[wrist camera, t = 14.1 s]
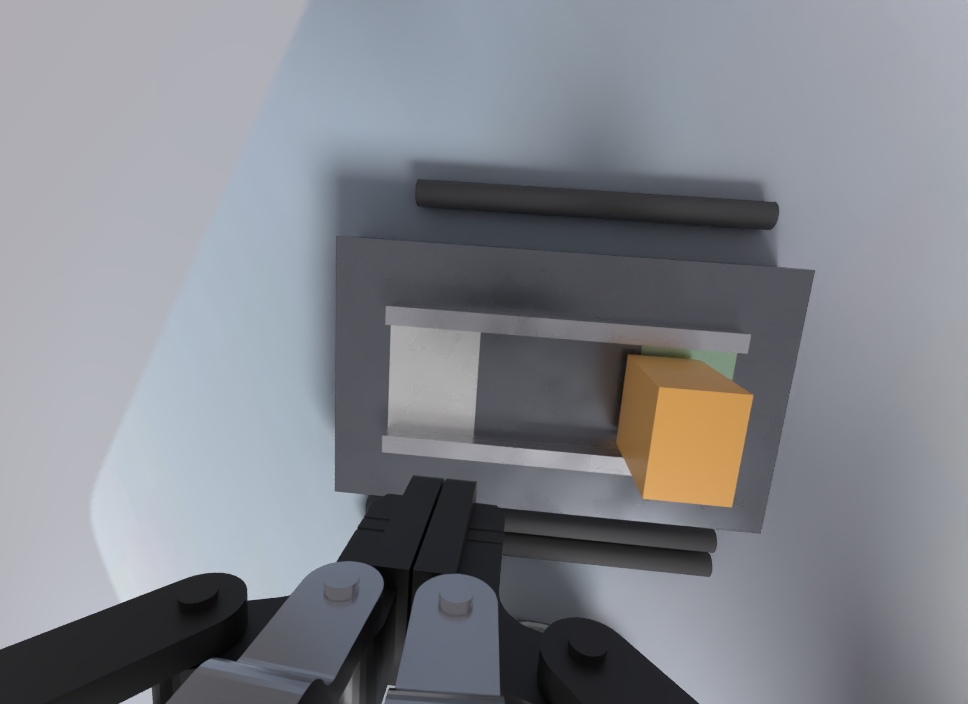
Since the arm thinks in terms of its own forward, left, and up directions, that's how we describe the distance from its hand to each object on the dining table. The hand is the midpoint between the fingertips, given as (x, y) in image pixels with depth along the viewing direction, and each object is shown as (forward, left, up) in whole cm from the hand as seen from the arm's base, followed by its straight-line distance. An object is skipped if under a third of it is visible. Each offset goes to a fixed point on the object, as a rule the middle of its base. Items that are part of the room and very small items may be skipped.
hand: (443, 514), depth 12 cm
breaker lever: (-8, 0, -11) cm, 14 cm away
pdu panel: (-3, 0, -14) cm, 15 cm away
